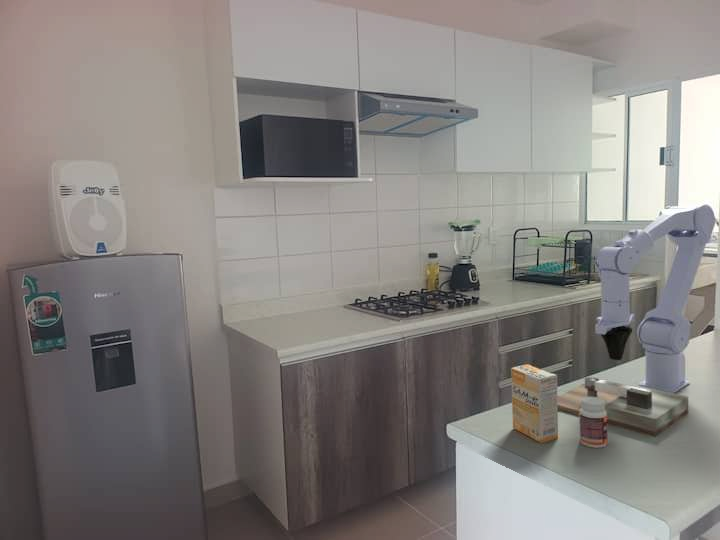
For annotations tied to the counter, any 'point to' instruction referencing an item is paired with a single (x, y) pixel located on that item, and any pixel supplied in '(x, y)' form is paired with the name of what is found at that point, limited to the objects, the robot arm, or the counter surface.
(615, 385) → the bar
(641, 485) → the counter surface
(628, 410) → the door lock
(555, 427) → the supplement box
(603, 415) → the pill bottle
